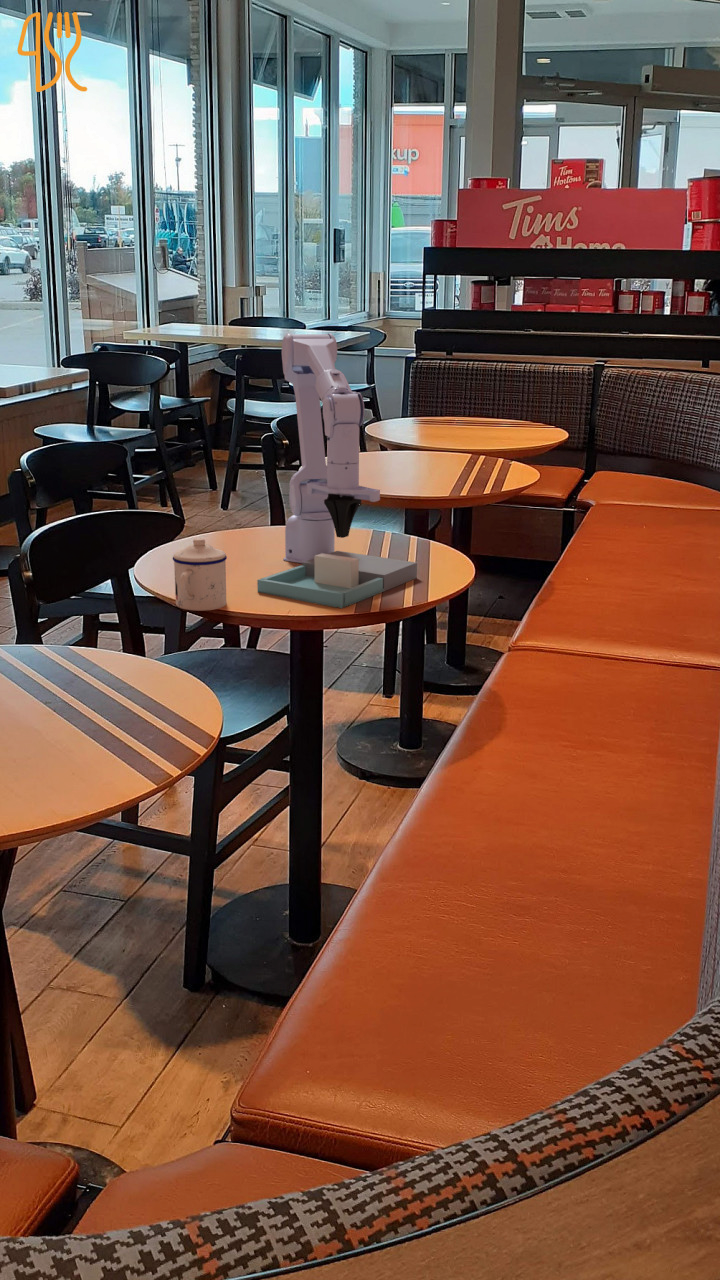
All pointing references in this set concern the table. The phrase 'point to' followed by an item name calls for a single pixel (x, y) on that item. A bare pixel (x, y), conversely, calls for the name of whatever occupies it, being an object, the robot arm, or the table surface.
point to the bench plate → (375, 569)
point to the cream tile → (336, 570)
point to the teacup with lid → (200, 577)
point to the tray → (316, 588)
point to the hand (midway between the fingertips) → (342, 536)
